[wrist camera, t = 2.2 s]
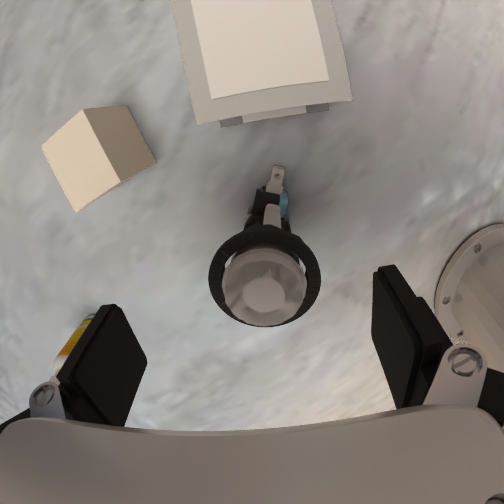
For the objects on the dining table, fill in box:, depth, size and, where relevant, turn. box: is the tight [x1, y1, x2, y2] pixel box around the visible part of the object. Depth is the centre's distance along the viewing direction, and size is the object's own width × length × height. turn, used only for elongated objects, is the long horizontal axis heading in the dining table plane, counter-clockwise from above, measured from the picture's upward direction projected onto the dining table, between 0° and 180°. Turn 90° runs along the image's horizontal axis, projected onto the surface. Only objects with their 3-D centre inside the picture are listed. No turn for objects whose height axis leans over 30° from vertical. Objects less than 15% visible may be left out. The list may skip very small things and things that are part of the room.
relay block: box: [41, 106, 156, 212], centre depth 18 cm, size 4×5×6 cm
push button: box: [208, 166, 321, 327], centre depth 18 cm, size 7×5×10 cm
